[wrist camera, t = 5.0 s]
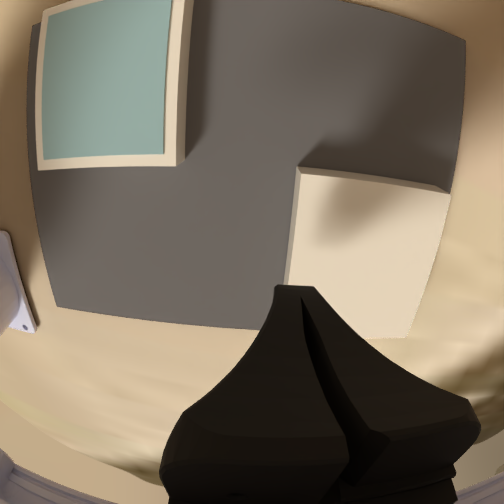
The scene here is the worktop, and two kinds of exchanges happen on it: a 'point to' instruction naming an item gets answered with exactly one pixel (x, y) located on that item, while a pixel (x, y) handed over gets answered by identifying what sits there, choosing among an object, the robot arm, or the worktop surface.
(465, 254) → the worktop surface
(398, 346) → the worktop surface
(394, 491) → the robot arm
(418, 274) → the tile
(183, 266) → the mat
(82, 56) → the tile
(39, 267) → the worktop surface
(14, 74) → the worktop surface
